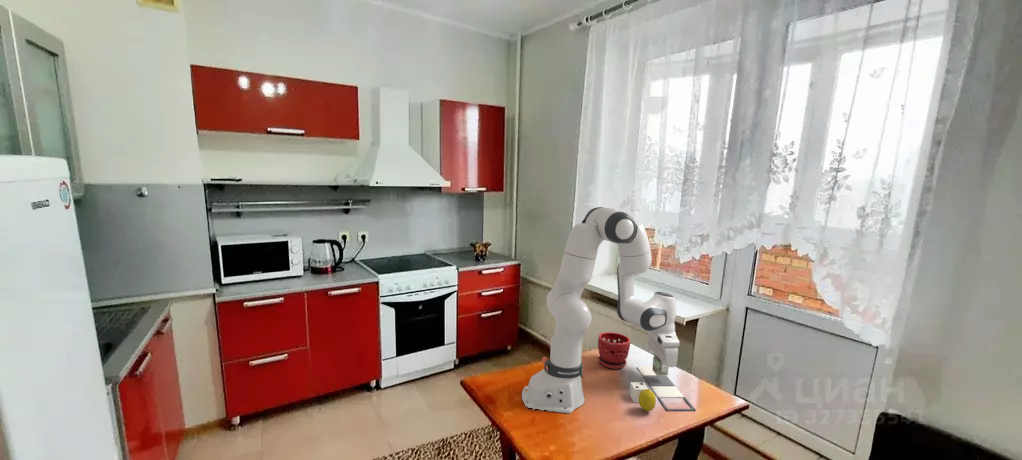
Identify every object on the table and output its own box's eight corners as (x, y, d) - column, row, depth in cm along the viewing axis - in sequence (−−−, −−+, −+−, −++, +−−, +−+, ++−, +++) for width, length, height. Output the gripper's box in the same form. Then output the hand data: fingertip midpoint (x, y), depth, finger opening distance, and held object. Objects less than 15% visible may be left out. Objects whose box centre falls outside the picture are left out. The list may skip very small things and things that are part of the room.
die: (633, 402, 145) (634, 388, 144) (629, 394, 150) (630, 381, 149) (647, 402, 145) (648, 388, 144) (643, 394, 150) (644, 381, 149)
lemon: (656, 416, 136) (657, 394, 135) (638, 414, 137) (640, 392, 136) (653, 407, 142) (655, 386, 141) (637, 405, 143) (638, 384, 142)
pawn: (656, 375, 157) (657, 353, 156) (652, 369, 161) (653, 348, 160) (667, 375, 157) (669, 353, 156) (663, 369, 161) (664, 348, 160)
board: (666, 411, 140) (666, 409, 140) (636, 367, 171) (636, 366, 171) (695, 410, 140) (695, 409, 140) (659, 367, 171) (659, 366, 171)
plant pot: (621, 374, 165) (622, 346, 163) (591, 364, 173) (592, 337, 172) (633, 363, 175) (635, 336, 173) (605, 354, 183) (606, 329, 182)
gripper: (644, 323, 167) (643, 355, 169) (664, 344, 147) (662, 380, 149) (660, 323, 167) (658, 355, 169) (681, 344, 147) (679, 380, 149)
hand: (660, 367), depth 159 cm, fingers closed on pawn, 4 cm apart
